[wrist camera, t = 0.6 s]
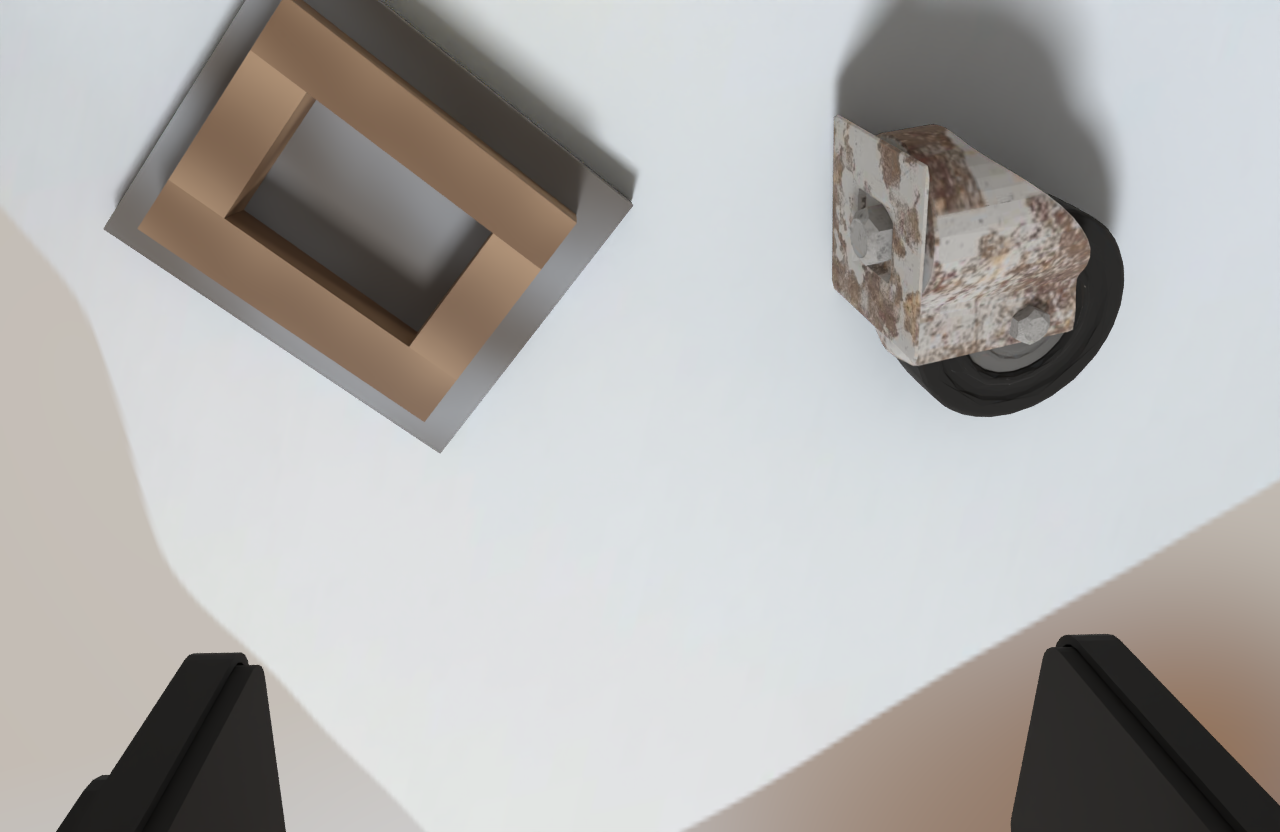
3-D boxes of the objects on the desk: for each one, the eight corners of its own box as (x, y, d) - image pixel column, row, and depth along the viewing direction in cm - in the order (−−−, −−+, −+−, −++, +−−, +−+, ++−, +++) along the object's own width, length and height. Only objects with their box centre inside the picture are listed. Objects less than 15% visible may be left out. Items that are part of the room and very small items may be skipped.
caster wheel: (1036, 341, 40) (818, 391, 39) (1074, 69, 34) (818, 114, 33) (1143, 420, 35) (894, 482, 33) (1212, 112, 29) (911, 170, 27)
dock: (297, -67, 31) (270, -80, 28) (631, 201, 35) (636, 213, 32) (116, 224, 34) (75, 238, 31) (443, 444, 37) (433, 474, 35)
